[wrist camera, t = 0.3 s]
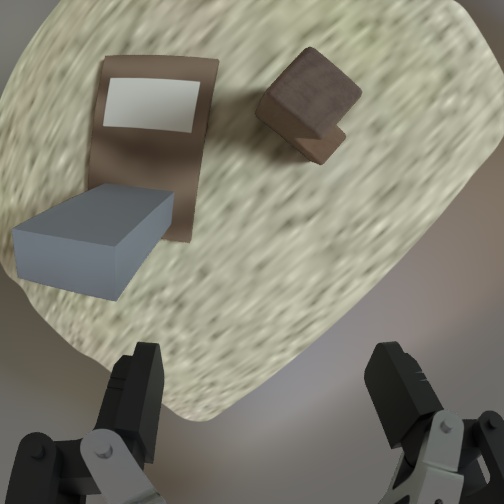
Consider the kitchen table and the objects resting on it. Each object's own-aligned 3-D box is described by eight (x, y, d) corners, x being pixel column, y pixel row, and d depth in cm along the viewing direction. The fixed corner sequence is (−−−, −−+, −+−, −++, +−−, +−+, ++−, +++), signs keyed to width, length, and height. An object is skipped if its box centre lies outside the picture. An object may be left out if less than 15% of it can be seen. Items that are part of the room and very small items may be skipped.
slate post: (105, 183, 34) (11, 228, 17) (174, 191, 34) (114, 246, 18) (103, 214, 35) (18, 277, 18) (171, 224, 36) (116, 301, 19)
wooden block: (336, 135, 34) (413, 142, 17) (312, 163, 35) (372, 191, 18) (278, 85, 31) (310, 42, 15) (253, 114, 33) (262, 93, 16)
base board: (109, 57, 29) (104, 55, 28) (219, 61, 30) (218, 59, 29) (91, 224, 37) (86, 227, 35) (191, 239, 38) (189, 243, 37)
